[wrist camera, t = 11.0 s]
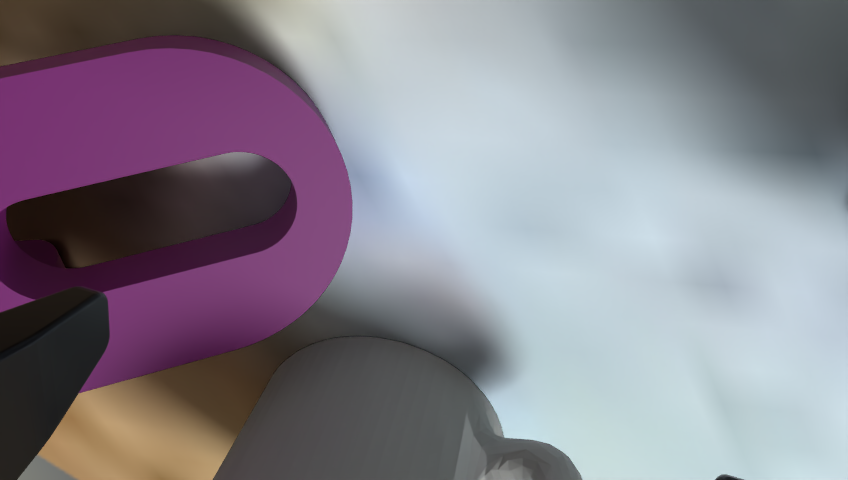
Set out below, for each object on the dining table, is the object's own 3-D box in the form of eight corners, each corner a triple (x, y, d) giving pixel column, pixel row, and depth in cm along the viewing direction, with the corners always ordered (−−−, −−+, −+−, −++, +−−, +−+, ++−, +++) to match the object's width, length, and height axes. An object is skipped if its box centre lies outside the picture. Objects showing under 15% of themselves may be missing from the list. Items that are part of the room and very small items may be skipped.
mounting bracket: (288, -16, 25) (-253, 88, 22) (312, 15, 18) (-488, 175, 15) (341, 212, 30) (-105, 322, 27) (378, 312, 22) (-232, 479, 19)
